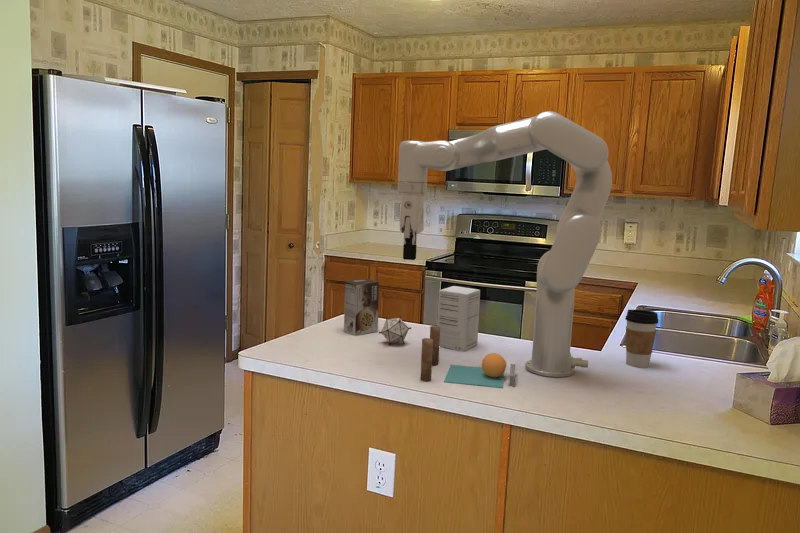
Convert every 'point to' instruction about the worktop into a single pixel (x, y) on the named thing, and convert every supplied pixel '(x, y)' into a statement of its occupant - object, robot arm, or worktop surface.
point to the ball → (493, 365)
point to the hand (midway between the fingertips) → (409, 259)
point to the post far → (435, 344)
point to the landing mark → (472, 376)
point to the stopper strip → (512, 375)
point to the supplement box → (458, 317)
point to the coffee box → (361, 306)
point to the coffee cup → (640, 337)
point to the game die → (395, 330)
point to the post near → (426, 359)
